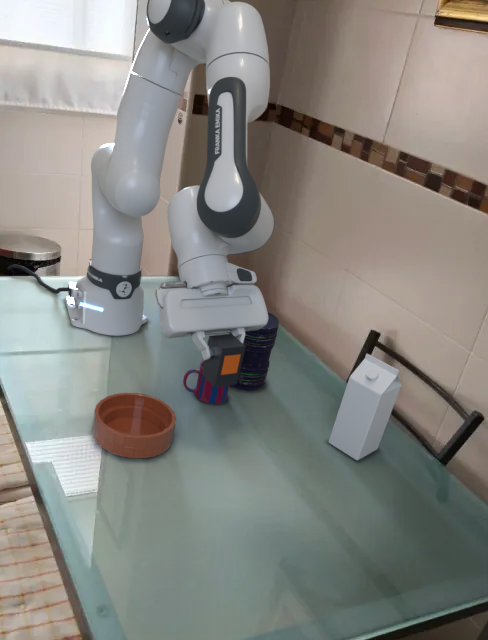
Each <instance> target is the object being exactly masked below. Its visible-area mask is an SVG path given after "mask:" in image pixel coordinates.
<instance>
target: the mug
mask: <svg viewBox="0 0 488 640" xmlns="http://www.w3.org/2000/svg"><path fill="white" fill-rule="evenodd" d="M203 365H204V360H202V361H201V362H200V365H199V368H198V369H196V368H195V369H194V368H193V369H189V370H187V371H186V372H185V373H184V375H183V379H182V383H183V387H184V388H185V390H187V391H188V392H189V393H191V394H194V395H195V397H196V398H197V399H199V400H200V401H201V402H203V403H206V404H211V405H220V404H223V403H225V402H226V401H227V399H228V396H229V391H230V385H227V386H220V387H214V386H213V385H212V384H211V383H210V382H209V381H208V380H207V379H206V378H205V377H204V376H203V375H202V370H203ZM191 374H197V381H196V386H195V388H191V387H189V386H188V385H187V380H188V378H189V376H190V375H191Z"/></svg>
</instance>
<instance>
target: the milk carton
mask: <svg viewBox="0 0 488 640" xmlns="http://www.w3.org/2000/svg"><path fill="white" fill-rule="evenodd" d="M399 373H400V369H397V368H396V367H394V366H391V365H390V364H388V363H387V362H385V361H382V360H380V359H378V358H376V357H375V356H373V355H371V354H369V353H366V354H365V357H364V358H363V360H362V361H361V362H360V363H359V365H357V367H356V368H355V370H353V372H352V373H351V374H350V375H349V378H348V381H347V384H346V386H345V389H344V393H343V396H342V400H341V402H340V405H339V407H338V411H337V414H336V417H335V420H334V423H333V426H332V429H331V433H330V435H329V439H328V443H329V444H330V445H331V446H333V447H334V448H337V449H338V450H339V451H341V452H342V453H344V454H345V455H347V456H349V457H350V458H352V459H353V460H356V461H359V460H361V459H363V458H365V457H366V456H368V455H370V454H372V453H373V452H375V451H377V450H378V449H379V445H380V443H381V440H382V438H383V435H384V433H385V431H386V428H387V425H388V423H389V420H390V417H391V415H392V412H393V409H394V406H395V405H396V401H397V399H398V396H399V393H400V390H401V388H402V383H401V381H400V378H399Z"/></svg>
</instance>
